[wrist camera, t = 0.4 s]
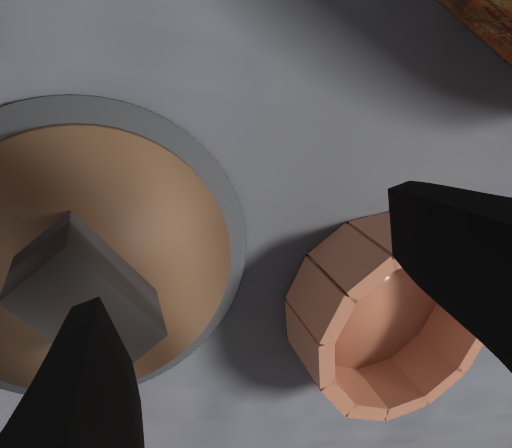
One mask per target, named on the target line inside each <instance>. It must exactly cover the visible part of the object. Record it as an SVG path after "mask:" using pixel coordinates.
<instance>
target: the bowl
mask: <svg viewBox="0 0 512 448" xmlns="http://www.w3.org/2000/svg"><path fill="white" fill-rule="evenodd" d="M308 255H309V256H308V257H306V256H305V258H304V260H303V262H302V265H301V267H300V269H299V271H298V273H297V275H296V277H295V279H294V281H293V283H292V285H291V287H290V289H289V291H288V293H287V295H286V297H285V298H286V299H287V300H286V301H285V312H286V326H287V339H288V341H289V343H290V344H291V346H292V347H293V349H294V351H295V352H296V354H297V355H298V357H299V358H300V360H301V361H302V363H303V364H304V366H305V368H306V369H307V371H308V372H309V374H310V375H311V377H312V378H313V380H314V381H315V383H316V385H317V386H318V388H319V389H320V391H321V392H322V393H323V394H324V395H325V396H326V397H327V398H328V399H329V400H330V401H331V403H332V404H333V405H334V406H335V407H336V408H337V409H338V410H339V411H340V412H341V413H342V414H343V415H344V416H346V417H348V418H357V419H366V420H375V421H384V420H386V421H388V420H390V419H393V418H396V417H399V416H401V415H404V414H407V413H409V412H412V411H415V410H417V409H420V408H423V407H425V406H426V403H428V404H430V403H431V402H433V401H434V400H435V399H436V398H437V397H439V396H440V395H441V394H442V393H443V392H445V391H446V390H447V389H448V388H449V387H451V386H452V385H453V384H454V383H455V382H457V381H458V380H459V379H460V378H461V377H463V376H464V374H463V372H465V373H466V372H467V371H468V369H469V368H470V366H471V364H472V363H473V361H474V359H475V358H476V356H477V355H478V353H479V351H480V350H481V348H482V347H483V345H484V344H483V343H481V342H480V341H479V340H478V339H477V338H476V337H475V336H473V335H472V334H471V333H470V332H469V331H468V330H467V329H466V328H464V327H463V326H462V325H461V324H460V323H459V322H458V321H456V320H455V319H454V318H453V317H452V316H451V315H450V314H449V313H447V312H446V311H445V310H444V309H443V308H442V307H441V306H440V305H438V304H437V303H436V302H435V301H434V300H433V299H432V298H431V297H430V296H428V295H427V294H426V293H425V292H424V291H423V290H422V289H421V288H420V287H419V286H418V285H417V284H416V283H415V282H414V281H413V280H412V279H411V278H410V277H409V275H408V274H407V273H406V272H405V271H404V269H403V268H402V267H401V266H400V265H399V263H398V262H397V261H396V260H395V258H394V257H393V256H392V242H391V228H390V213H389V212H385V213H381V214H377V215H373V216H368V217H364V218H360V219H355V220H351V221H348V224H347V223H344V224H343V225H342V226H341V227H339V228H338V229H337V230H336V231H335V232H333V233H332V234H331V235H330V236H328V237H327V238H326V239H325V240H324V241H322V242H321V243H320V244H319V245H317V246H316V247H315V248H314V249H313V250H311V251H310V252H309V253H308Z"/></svg>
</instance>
